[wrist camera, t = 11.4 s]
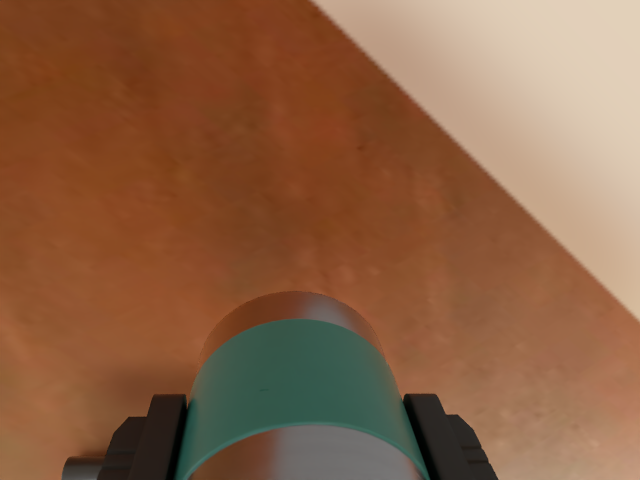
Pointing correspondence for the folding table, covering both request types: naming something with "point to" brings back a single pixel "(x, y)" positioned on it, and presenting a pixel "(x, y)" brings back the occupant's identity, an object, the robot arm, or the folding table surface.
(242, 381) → the tin can
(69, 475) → the drawer
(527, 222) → the folding table surface
